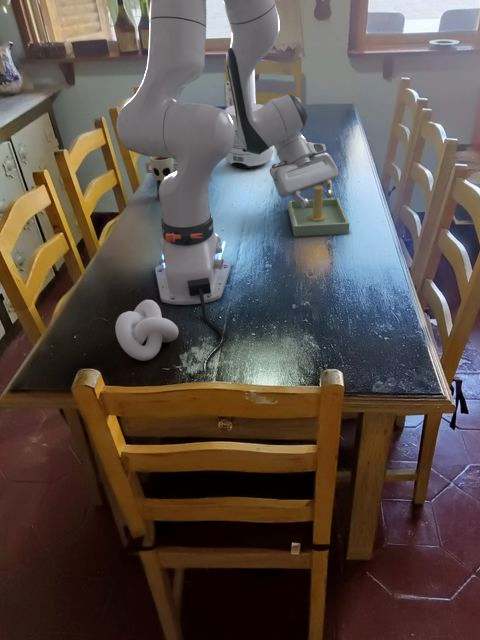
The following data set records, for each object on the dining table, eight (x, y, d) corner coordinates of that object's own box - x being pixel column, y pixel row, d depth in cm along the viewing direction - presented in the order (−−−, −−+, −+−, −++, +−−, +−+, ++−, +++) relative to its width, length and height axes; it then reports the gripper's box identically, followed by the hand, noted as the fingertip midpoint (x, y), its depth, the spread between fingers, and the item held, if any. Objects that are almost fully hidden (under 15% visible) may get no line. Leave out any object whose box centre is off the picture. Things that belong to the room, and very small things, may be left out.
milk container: (265, 152, 196) (264, 100, 184) (278, 168, 183) (278, 113, 171) (220, 157, 192) (216, 105, 181) (230, 174, 179) (226, 119, 168)
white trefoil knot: (185, 330, 111) (180, 294, 106) (175, 367, 102) (168, 330, 97) (133, 329, 112) (125, 294, 107) (118, 366, 103) (108, 329, 97)
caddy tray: (348, 233, 144) (351, 198, 137) (294, 236, 143) (294, 201, 137) (338, 207, 157) (340, 174, 150) (288, 210, 156) (288, 177, 150)
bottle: (249, 105, 247) (246, 31, 228) (259, 108, 242) (257, 33, 223) (235, 108, 243) (231, 33, 224) (245, 111, 238) (242, 36, 219)
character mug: (148, 202, 163) (140, 160, 155) (153, 193, 169) (146, 152, 161) (182, 202, 163) (177, 160, 155) (186, 192, 168) (181, 152, 160)
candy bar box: (248, 128, 219) (246, 85, 209) (237, 130, 217) (234, 87, 207) (237, 121, 227) (235, 79, 217) (227, 123, 225) (224, 81, 215)
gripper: (272, 160, 138) (295, 207, 138) (328, 142, 148) (350, 186, 148) (262, 172, 144) (284, 217, 144) (317, 154, 153) (338, 197, 153)
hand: (318, 201), depth 146 cm, fingers open, 8 cm apart
